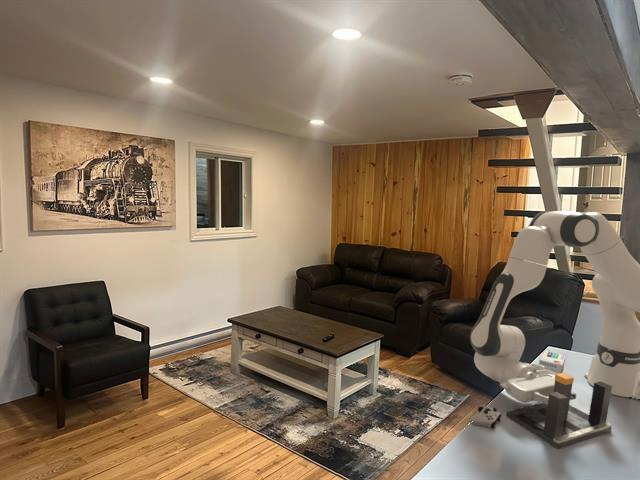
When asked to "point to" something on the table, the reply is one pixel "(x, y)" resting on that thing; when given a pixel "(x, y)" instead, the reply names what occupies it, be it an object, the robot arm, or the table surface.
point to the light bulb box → (552, 361)
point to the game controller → (486, 417)
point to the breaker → (564, 387)
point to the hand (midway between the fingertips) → (563, 399)
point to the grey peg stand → (578, 424)
